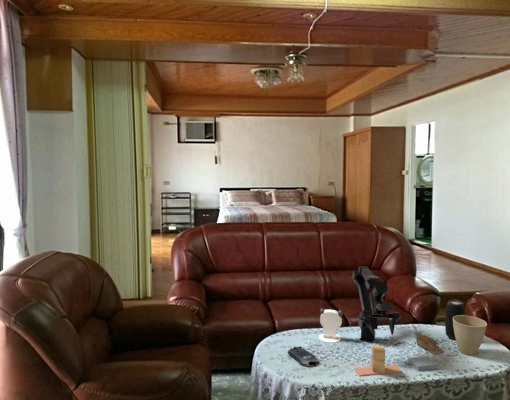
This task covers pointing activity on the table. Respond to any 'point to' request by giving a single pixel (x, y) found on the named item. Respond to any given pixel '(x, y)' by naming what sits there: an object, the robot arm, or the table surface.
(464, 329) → the plant pot
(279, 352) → the table surface
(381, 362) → the oak block
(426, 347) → the wooden fragment
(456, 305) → the portable speaker
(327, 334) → the panda figurine
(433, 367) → the slate ledge
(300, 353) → the electronic device
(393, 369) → the terracotta mat
